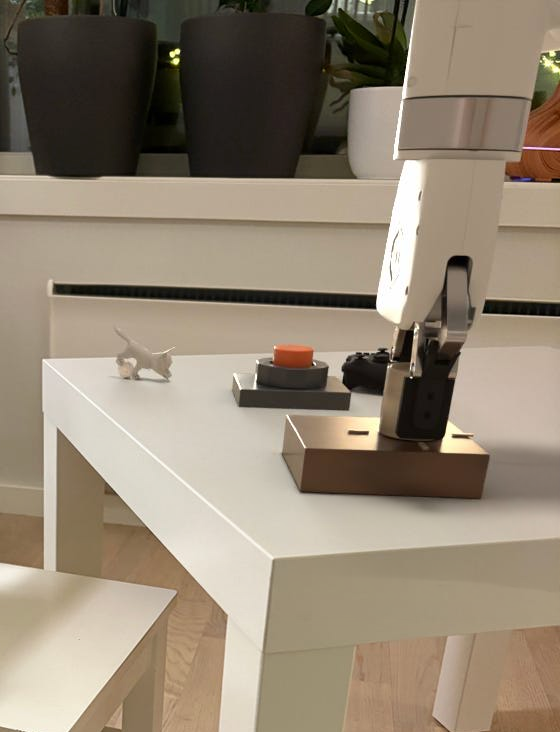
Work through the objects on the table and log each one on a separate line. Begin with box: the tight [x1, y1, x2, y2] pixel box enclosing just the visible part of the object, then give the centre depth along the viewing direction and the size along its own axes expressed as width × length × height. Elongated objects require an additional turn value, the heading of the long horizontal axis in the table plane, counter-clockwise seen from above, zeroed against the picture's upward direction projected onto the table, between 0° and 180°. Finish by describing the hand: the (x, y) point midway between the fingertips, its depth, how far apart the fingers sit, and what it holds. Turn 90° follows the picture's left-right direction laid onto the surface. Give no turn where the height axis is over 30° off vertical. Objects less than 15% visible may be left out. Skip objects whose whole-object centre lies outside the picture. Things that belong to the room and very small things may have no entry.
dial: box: [378, 362, 431, 441], centre depth 67 cm, size 4×4×5 cm
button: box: [272, 344, 315, 367], centre depth 90 cm, size 4×4×2 cm
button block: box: [231, 356, 352, 412], centre depth 91 cm, size 10×8×4 cm
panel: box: [281, 414, 491, 499], centre depth 69 cm, size 12×10×3 cm
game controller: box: [341, 347, 397, 392], centre depth 98 cm, size 10×5×7 cm
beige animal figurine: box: [113, 324, 176, 382], centre depth 99 cm, size 3×8×6 cm
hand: (411, 426), depth 68 cm, fingers closed on dial, 4 cm apart
